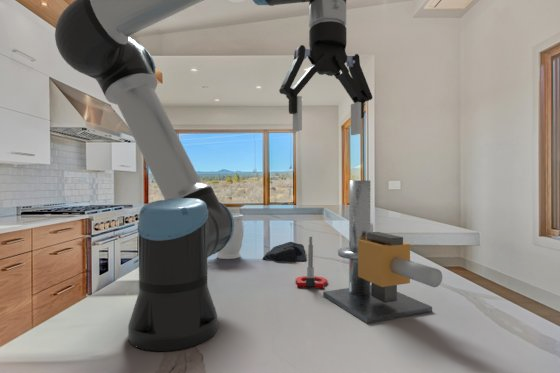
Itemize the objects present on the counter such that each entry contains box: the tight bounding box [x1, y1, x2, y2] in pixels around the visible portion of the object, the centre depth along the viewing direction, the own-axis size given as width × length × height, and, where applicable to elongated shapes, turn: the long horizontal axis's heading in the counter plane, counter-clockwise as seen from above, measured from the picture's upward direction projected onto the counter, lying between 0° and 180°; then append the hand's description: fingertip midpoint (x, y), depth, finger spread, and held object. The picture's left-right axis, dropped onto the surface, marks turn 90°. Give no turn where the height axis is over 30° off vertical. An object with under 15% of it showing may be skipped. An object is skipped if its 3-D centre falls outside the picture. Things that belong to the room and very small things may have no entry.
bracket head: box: [358, 239, 443, 288], centre depth 68 cm, size 7×18×8 cm, turn 22°
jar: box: [216, 213, 244, 260], centre depth 122 cm, size 11×10×15 cm
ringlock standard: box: [322, 179, 433, 324], centre depth 76 cm, size 16×19×27 cm
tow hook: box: [295, 236, 328, 289], centre depth 91 cm, size 8×13×9 cm
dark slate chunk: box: [262, 241, 308, 263], centre depth 126 cm, size 15×22×5 cm
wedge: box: [367, 231, 404, 303], centre depth 73 cm, size 3×8×14 cm, turn 22°
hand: (327, 132), depth 70 cm, fingers open, 13 cm apart
